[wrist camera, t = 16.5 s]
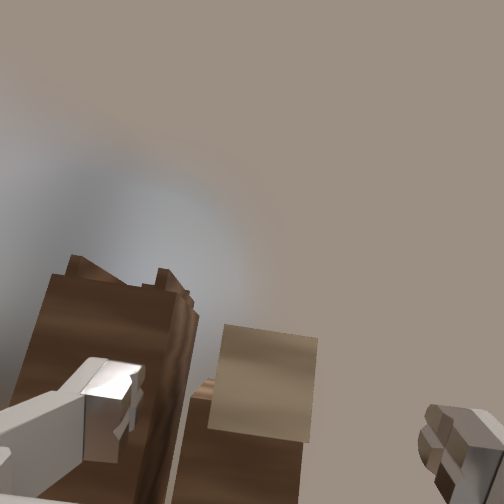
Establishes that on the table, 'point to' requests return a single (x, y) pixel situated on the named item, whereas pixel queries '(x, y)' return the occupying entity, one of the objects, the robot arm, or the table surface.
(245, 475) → the walnut step
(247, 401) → the pine blank
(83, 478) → the brown wooden block
